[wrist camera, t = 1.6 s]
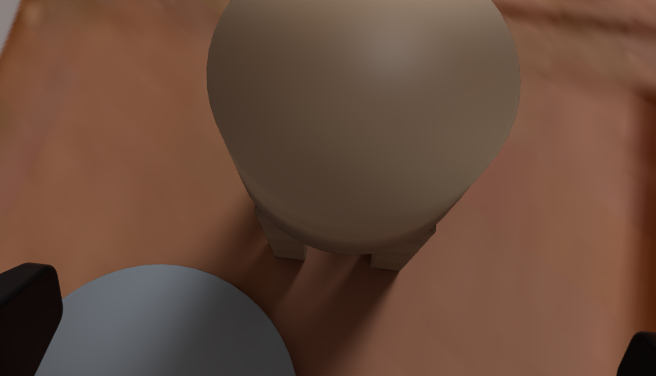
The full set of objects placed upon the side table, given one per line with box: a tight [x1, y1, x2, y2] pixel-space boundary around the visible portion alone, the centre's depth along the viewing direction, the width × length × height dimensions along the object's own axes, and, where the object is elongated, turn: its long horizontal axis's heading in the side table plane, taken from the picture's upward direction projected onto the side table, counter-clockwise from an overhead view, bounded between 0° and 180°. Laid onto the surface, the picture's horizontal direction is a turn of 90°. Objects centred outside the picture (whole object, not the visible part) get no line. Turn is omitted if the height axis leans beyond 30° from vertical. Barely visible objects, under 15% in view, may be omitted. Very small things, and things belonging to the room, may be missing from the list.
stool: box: [207, 0, 521, 271], centre depth 17 cm, size 7×7×11 cm
